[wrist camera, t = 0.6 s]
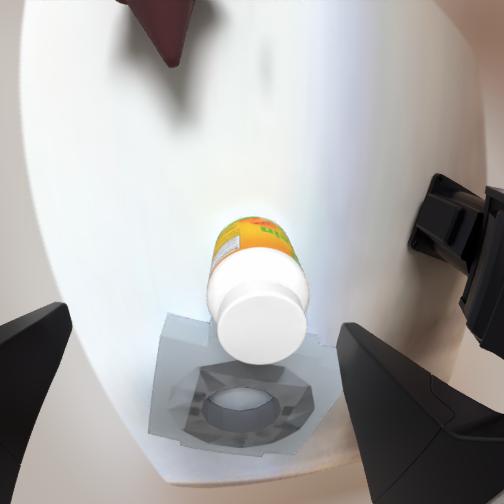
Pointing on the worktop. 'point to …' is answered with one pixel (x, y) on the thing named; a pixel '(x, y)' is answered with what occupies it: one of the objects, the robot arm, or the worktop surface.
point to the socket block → (236, 375)
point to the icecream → (164, 24)
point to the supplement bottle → (257, 291)
